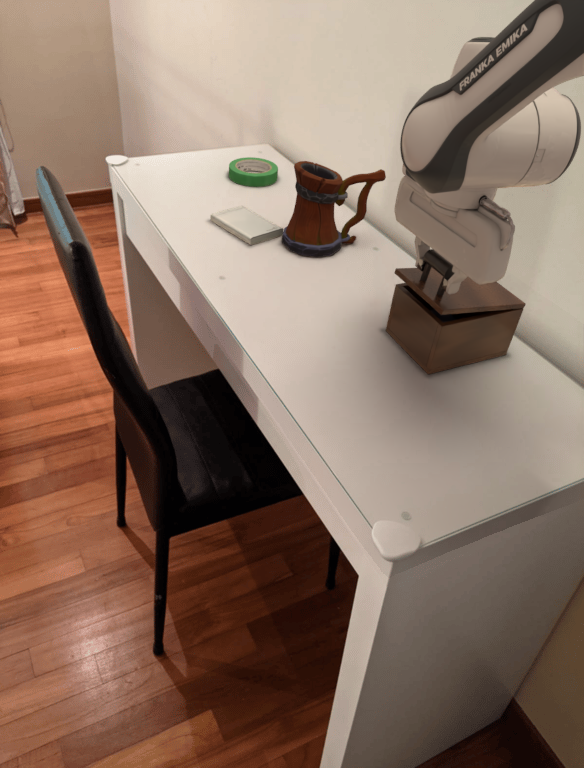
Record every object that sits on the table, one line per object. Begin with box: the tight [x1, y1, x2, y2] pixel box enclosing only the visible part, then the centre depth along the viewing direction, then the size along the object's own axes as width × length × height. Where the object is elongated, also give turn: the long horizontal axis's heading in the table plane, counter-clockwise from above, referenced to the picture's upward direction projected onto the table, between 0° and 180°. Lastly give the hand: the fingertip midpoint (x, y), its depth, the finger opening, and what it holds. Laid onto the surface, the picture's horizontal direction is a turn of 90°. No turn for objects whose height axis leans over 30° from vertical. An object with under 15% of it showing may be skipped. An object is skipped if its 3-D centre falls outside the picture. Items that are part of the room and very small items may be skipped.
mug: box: [281, 160, 387, 258], centre depth 112 cm, size 18×12×15 cm, turn 101°
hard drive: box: [209, 205, 284, 246], centre depth 118 cm, size 2×8×12 cm
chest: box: [385, 282, 524, 375], centre depth 92 cm, size 15×12×8 cm
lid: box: [394, 248, 526, 315], centre depth 87 cm, size 15×12×5 cm
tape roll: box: [228, 156, 279, 188], centre depth 138 cm, size 11×11×3 cm
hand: (435, 279), depth 85 cm, fingers closed on lid, 5 cm apart
